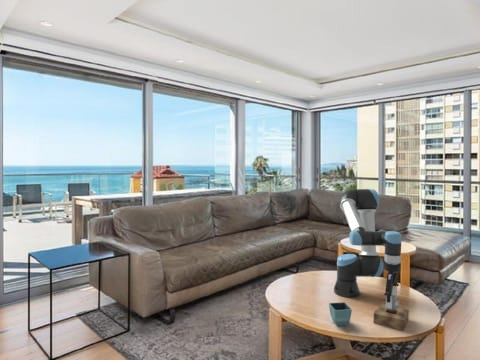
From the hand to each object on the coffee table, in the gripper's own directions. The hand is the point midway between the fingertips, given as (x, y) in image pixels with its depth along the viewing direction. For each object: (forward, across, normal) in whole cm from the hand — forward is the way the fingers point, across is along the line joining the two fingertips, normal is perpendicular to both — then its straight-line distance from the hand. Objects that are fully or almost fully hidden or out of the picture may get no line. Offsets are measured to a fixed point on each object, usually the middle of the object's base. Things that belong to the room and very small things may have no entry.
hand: (391, 302), depth 170 cm
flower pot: (+9, -18, +21) cm, 29 cm away
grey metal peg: (+9, 0, 0) cm, 9 cm away
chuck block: (+9, +6, 0) cm, 11 cm away
